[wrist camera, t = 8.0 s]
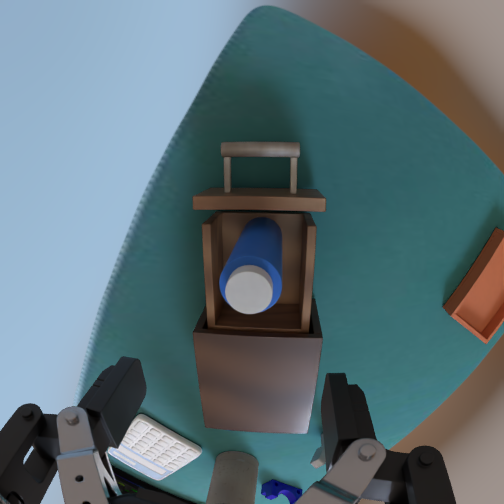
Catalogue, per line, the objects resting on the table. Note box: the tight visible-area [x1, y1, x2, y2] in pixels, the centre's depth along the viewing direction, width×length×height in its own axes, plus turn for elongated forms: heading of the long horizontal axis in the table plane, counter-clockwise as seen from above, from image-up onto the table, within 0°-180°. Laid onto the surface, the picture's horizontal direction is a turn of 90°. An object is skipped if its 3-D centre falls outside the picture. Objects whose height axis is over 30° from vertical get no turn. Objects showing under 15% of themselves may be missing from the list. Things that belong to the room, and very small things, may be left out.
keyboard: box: [111, 465, 196, 504], centre depth 56 cm, size 42×16×5 cm, turn 60°
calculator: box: [108, 414, 202, 480], centre depth 49 cm, size 13×20×2 cm, turn 143°
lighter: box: [310, 434, 326, 468], centre depth 40 cm, size 7×2×8 cm, turn 49°
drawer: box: [193, 142, 326, 334], centre depth 31 cm, size 18×11×7 cm, turn 0°
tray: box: [443, 228, 504, 344], centre depth 33 cm, size 13×10×3 cm
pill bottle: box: [219, 217, 282, 314], centre depth 26 cm, size 4×4×14 cm
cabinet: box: [193, 299, 323, 433], centre depth 35 cm, size 15×13×9 cm
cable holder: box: [261, 479, 302, 504], centre depth 49 cm, size 8×4×4 cm, turn 53°
